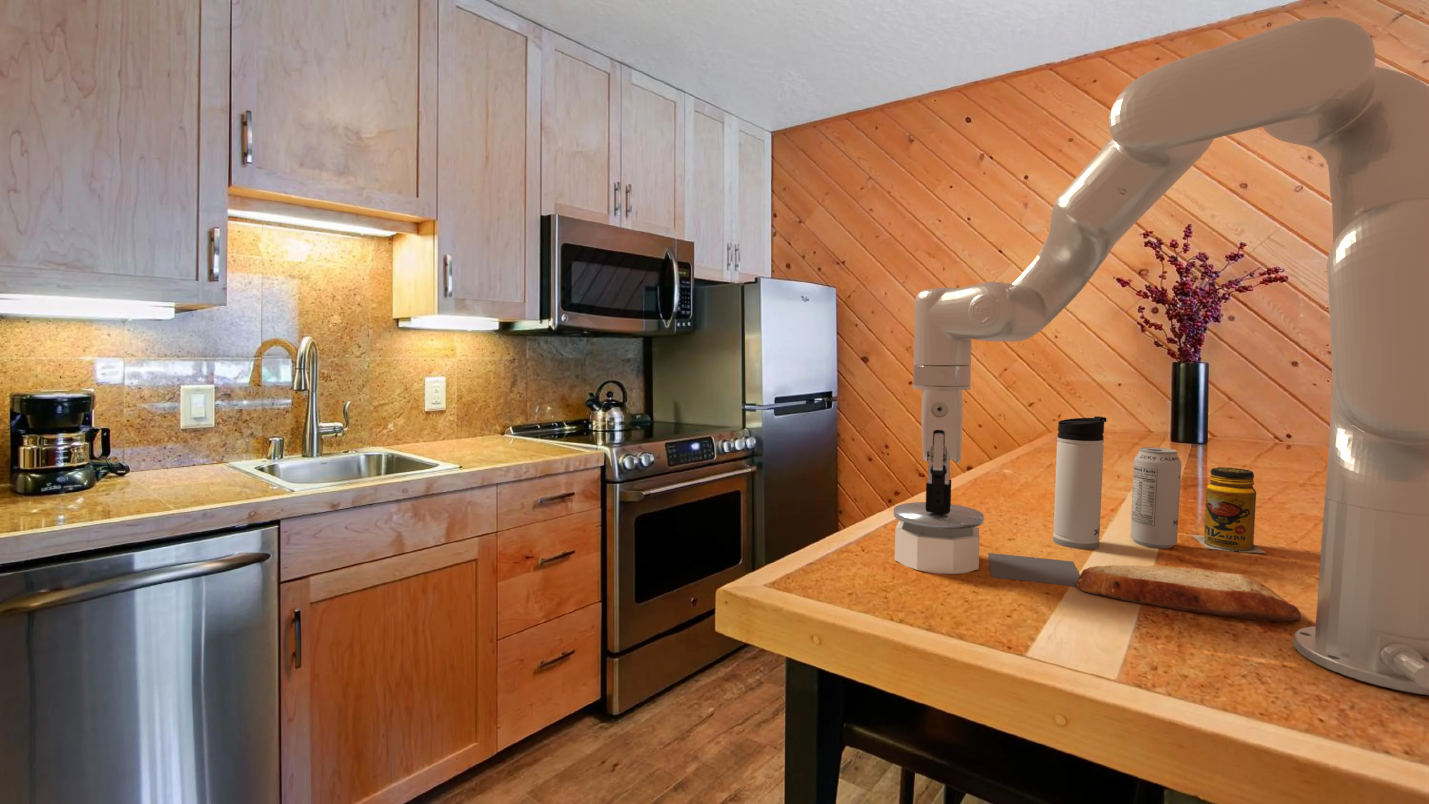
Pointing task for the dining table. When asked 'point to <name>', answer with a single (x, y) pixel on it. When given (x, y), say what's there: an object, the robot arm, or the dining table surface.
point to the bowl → (937, 548)
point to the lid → (938, 516)
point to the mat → (1033, 569)
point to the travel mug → (1079, 482)
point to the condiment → (1230, 511)
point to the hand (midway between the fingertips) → (938, 508)
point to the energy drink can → (1155, 497)
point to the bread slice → (1189, 591)
